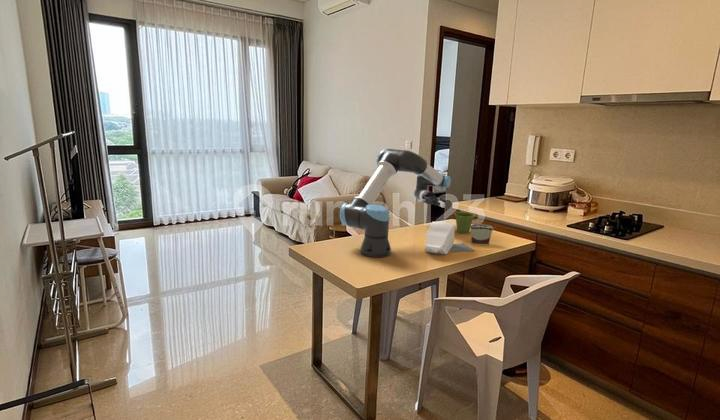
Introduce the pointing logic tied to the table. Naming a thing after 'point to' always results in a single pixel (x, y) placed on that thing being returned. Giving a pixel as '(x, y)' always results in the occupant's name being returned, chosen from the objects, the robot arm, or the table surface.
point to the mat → (460, 248)
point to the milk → (440, 237)
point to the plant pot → (463, 222)
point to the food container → (480, 234)
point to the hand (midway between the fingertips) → (443, 205)
